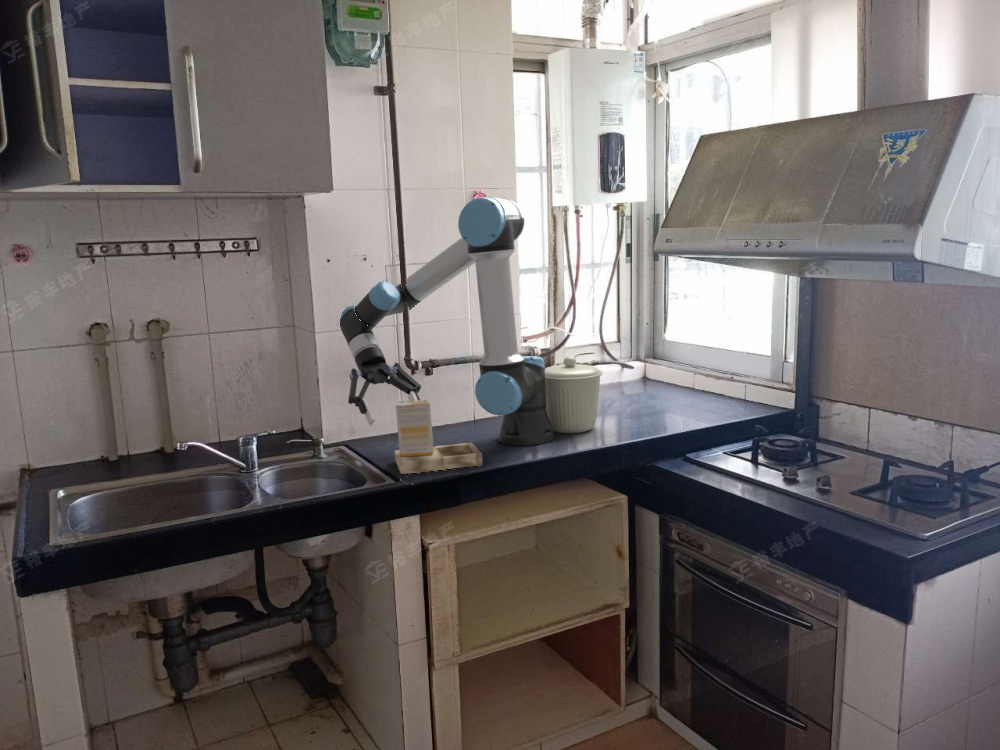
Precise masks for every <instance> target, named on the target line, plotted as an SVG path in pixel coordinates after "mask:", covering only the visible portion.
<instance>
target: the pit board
mask: <svg viewBox="0 0 1000 750" xmlns="http://www.w3.org/2000/svg"><path fill="white" fill-rule="evenodd" d="M394 462H396V463H395V465H396V464H397V465H396V467H397V466H398V467H397V469H399V470H398V472H399V471H400V472H399V474H400V473H401V474H407V473H408V475H410V474H409V473H417V474H422V473H421V472H425V473H430V472H429V471H434V472H439V471H438V470H443V471H447V470H446V469H452V468H460V467H469V466H478V465H483V453H481V451H480V450H479V449H478V448H477V447H476V446H475V445H474V443H473V442H463V443H455V444H453V443H452V444H446V445H435V446H434V445H433V455H419V456H404V457H400V451H399V449H398V450H394ZM478 467H479V466H478ZM452 470H453V469H452ZM401 474H400V475H401Z"/></svg>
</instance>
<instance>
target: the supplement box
mask: <svg viewBox="0 0 1000 750" xmlns="http://www.w3.org/2000/svg"><path fill="white" fill-rule="evenodd" d="M395 412H396V413H395V414H396V422H397V423H396V426H397V436H398V448H399V449H398V450H399V451H400V457H404V456H419V455H433V447H434V439H433V427H432V425H433V424H432V411H431V400H430V399H420V400H417V401H409V400H404V401H402V400H401V401H397V402H396V404H395Z"/></svg>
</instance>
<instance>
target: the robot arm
mask: <svg viewBox="0 0 1000 750" xmlns="http://www.w3.org/2000/svg"><path fill="white" fill-rule="evenodd" d="M457 227H458V232H459V235H460V236H461V238H459V239H458V240H456V241H455V242H454V243H452V244H451V245H450V246H449V247H447V248H446V249H444V250H443V251H441V252H440V253H439V254H437V255H436V256H435V257H433V258H432V259H431V260H430V261H429V262H426V263H425V264H424V265H422V267H421V266H420V268H418V269H417V270H416V271H415V272H413V273H412V274H411V275H409V276H408V277H406V278H405V280H406V284H405V288H404V292H403V291H402V287H401V284H400V283H398V284H397V285H398V286H397V285H396V287H395V286H394V285H393V284H392V283H390V282H387V281H385V280H380V281H379V282H378V283H377V284H376V285H374V286H372V288H371V289H370V290H369V292H367V294H366V295H365V296H364V297H363V298H362V299H361V301H359V302H358V303H357V306H354V305H352V306H349V307H347V308H346V309H345V310H344V311H343V312H342V315H341V318H340V327H341V330H342V331H341V330H340V331H341V332H342V335H343V338H345V341H346V343H347V346H348V349H349V350H350V353H351V355H352V357H353V359H354V362H355V365H356V367H357V368H358V370H357V369H356V368H352V369H351V371H350V373H349V378H350V385H349V394H348V401H347V402H348V404H349V405H352V404H354V406H355V407H357V408H358V409H359V412H360V414H361V415H364V416H365V418H366V421H367V423H368V425H369V426H371V427H372V426H373V425H374V423H375V420H376V418H375V415H374V413H373V411H372V409H371V407H370V405H369V403H368V400H367V398H364V397H365V394H366V392H367V390H368V388H369V386H370V384H372V385H377V384H385V383H386V384H388V385H392V386H393V387H395V388H397V389H398V390H400V391H401V392H404V393H405V394H407V395H408V397H407V399H408V401H417V400H421V398H420V396H419V392H420V391H421V389H422V385H421V384H420V383H419V382H418V381H417V380H415V379H414V378H413V377H412V376H411V375H410V374H409V373H407V372H406V371H405V370H404V369H403V368H402V367H401V365H400V363H398V362H395V363H394V364H393V365H388V364H387V362H386V358H385V355H384V354H383V352H382V350H381V347H380V345H379V342H378V341H377V338H376V337H375V333H374V332H373V329H374V328H375V327H376V326H377V325H378V324H379V323H380V322H381V321H383V319H384V318H386V317H389V316H393V315H398V314H403V313H402V312H403V311H404V308H405V303H406V301H407V305H408V307H409V310H411V309H412V308H413V307H415V305H417V304H418V303H421V302H422V301H423V300H425V299H426V298H428V297H429V296H430V295H431V294H433V293H435V292H436V291H437V290H439V289H440V288H442V287H443V286H445V285H446V284H448V283H449V282H450V281H452V280H453V279H454V278H456V277H457V276H458V275H460V274H462V273H463V272H464V271H466V270H467V269H469V268H470V267H471V266H473V265H474V264H475V273H476V274H475V275H476V281H477V294H478V303H479V313H480V314H479V315H480V323H481V324H480V326H481V335H482V344H483V355H484V356H483V357H482V358H481V359H480V361H479V363H478V365H479V372H480V373H479V375H480V376H479V378H478V380H477V381H476V383H475V386H474V394H475V398H476V401H477V403H478V404H479V406H480V407H481V408H482V409H483V410H485V411H486V412H487V413H489V414H491V415H493V416H502V417H501V421H500V425H499V428H498V433H497V436H498V441H499V442H500V443H502V444H505V445H511V446H512V445H513V446H537V445H541V444H546V443H548V442H550V441H552V440H554V430H553V428H552V425H551V422H550V420H549V417H548V414H547V411H546V389H545V368H546V367H545V360H544V358H543V357H542V356H536V355H532V356H531V355H521V354H520V353H519V351H518V350H519V349H518V340H517V339H518V338H517V329H516V318H515V305H514V295H513V294H514V293H513V285H512V283H513V282H512V273H511V272H512V271H511V265H510V264H511V262H510V257H511V256H512V255H513V254H514V252H515V250H516V249H515V241H516V240H518V238H519V237H520V236H521V234H522V232H523V230H524V228H525V216H524V212H523V210H522V209H521V207H520V206H519V205H518V204H517V202H515V201H514V200H512V199H509V198H506V197H505V198H503V197H502V198H501V197H493V196H492V197H491V196H483V197H478V198H477V197H476V198H474V199H472V200H470V201H469V202H467V203H466V204H465V205H464V206H463V208H462V209H461V211H460V214H459V215H458V223H457ZM404 293H405V294H404ZM405 295H406V296H405ZM354 308H355V309H354ZM354 310H355V311H354ZM355 313H356V314H355ZM356 315H357V316H356ZM359 319H360V320H361V321H360V320H359ZM367 325H368V326H367ZM340 327H339V328H340ZM360 377H361V378H362V379H364V380H365V381H364V383H363V385H362V387H361V390H360V391H359V394H358V395H357V394H356V393H357V386H358V379H360ZM356 395H357V396H356Z"/></svg>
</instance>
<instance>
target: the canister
mask: <svg viewBox="0 0 1000 750" xmlns="http://www.w3.org/2000/svg"><path fill="white" fill-rule="evenodd" d="M602 375H603V371H602V370H601V369H599V368H598V367H596V366H593V365H590V364H589V365H588V364H580V363H579V364H578V363H577V359H576V357H574V356H571V355H569V356H566V357H564V359H563V364H557V365H552V366H547V367H545V389H546V411H547V414H548V417H549V420H550V422H551V425H552V428H553V432H557V433H561V434H579V433H585V432H588V431H591V430H592V429H593V428H594V427H595V425H596V422H597V417H598V408H599V407H598V406H599V395H600V394H599V393H600V383H601V376H602Z"/></svg>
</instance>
